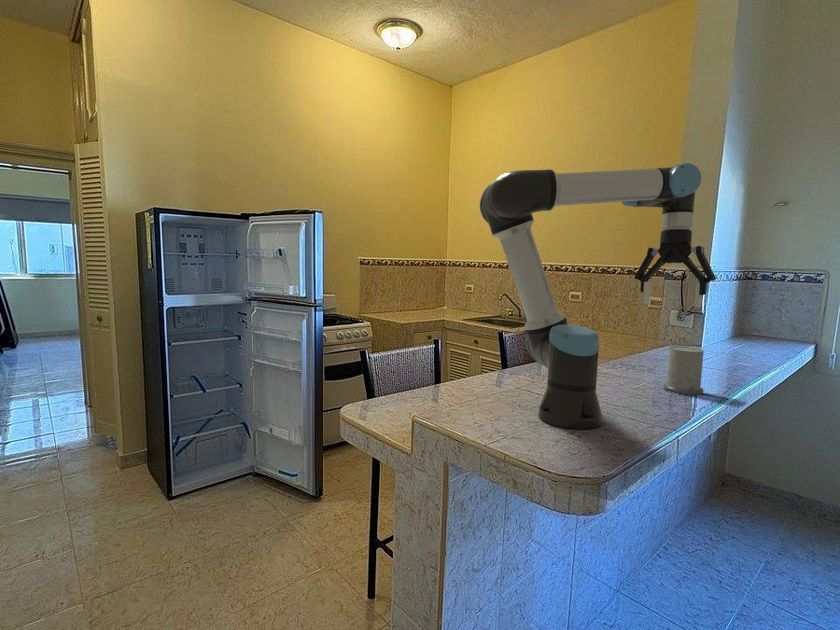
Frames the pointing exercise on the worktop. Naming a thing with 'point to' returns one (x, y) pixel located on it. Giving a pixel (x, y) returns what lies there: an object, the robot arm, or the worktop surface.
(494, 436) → the worktop surface
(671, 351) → the grey marble cylinder
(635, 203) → the robot arm
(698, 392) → the pad
